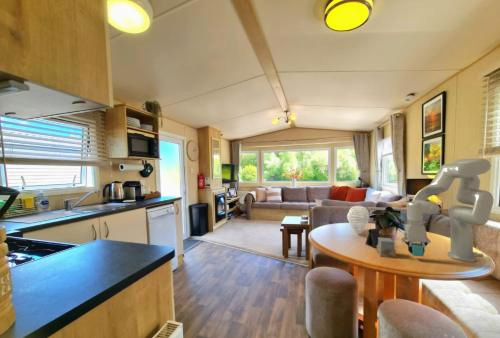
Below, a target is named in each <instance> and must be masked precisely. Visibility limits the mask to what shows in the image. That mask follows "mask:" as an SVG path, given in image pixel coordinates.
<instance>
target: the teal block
mask: <svg viewBox="0 0 500 338" xmlns="http://www.w3.org/2000/svg"><path fill="white" fill-rule="evenodd" d="M412 250H413V253H412V254H411V255H412V256H413V257H424V254H425V253H424V254H423V246H422V245H421V244H420V242H412Z"/></svg>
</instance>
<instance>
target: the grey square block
mask: <svg viewBox="0 0 500 338" xmlns="http://www.w3.org/2000/svg"><path fill="white" fill-rule="evenodd" d="M376 253H377V254H378V255H379V257H380V258H387V259H397V258H396V257H397V256H396V249H395V248H394V250H387V249H381V248H380V247H379V245H377V248H376Z"/></svg>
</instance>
